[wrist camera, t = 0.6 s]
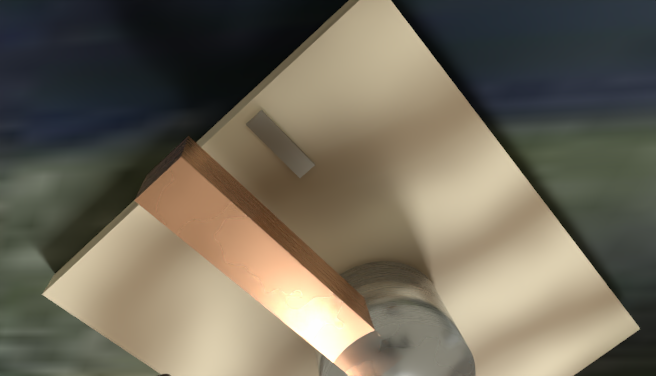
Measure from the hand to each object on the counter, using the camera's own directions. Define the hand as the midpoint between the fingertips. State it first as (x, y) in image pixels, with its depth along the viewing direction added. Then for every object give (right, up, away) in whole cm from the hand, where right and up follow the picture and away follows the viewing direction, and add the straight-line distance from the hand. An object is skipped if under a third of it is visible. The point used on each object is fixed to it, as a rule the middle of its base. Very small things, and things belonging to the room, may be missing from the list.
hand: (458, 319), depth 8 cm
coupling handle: (-3, -1, +14) cm, 14 cm away
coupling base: (0, -3, +17) cm, 18 cm away
